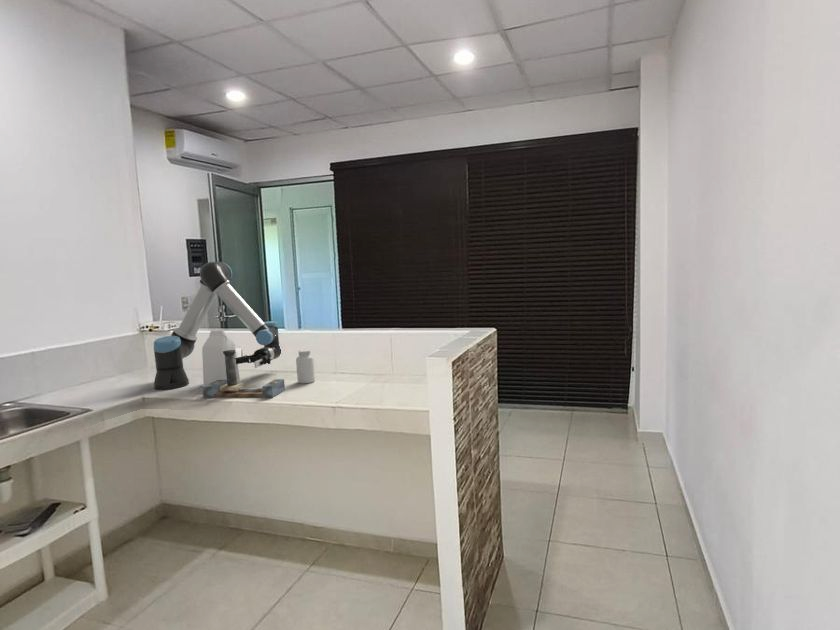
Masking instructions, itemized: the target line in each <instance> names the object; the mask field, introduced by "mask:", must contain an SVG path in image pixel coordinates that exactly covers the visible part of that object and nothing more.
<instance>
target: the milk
mask: <svg viewBox="0 0 840 630" xmlns="http://www.w3.org/2000/svg"><path fill="white" fill-rule="evenodd" d="M226 350H235V353H234V356H235V358H238V357H237V352H236V345H235V343H234V342H233V340H231V338H229V337H228V336H227V335H226V331H224V329H211V330H210V332H209V336H208V337H207V339H206V340H205V342H204V343H203V345H202V349H201V352H202V353H201V355H202V374H203V375H202V376H203V377H202V379H203V386H205V385H207V384H210V383H212V382H214V381H216V380H227V375H226V365H225V354H223V351H226ZM235 367H236V377H237V382H241V379H240V378H241V377H240V370H239V364H236V365H235Z"/></svg>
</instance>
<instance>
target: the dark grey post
mask: <svg viewBox="0 0 840 630" xmlns="http://www.w3.org/2000/svg"><path fill="white" fill-rule="evenodd" d="M235 350H236V349H235ZM235 350H226V351H223V354H225V365H226V375H227V384H225V385H223V386H221V387H220V390H222V391H238V389H239V388H244V387H245V382H244V381H242V382H241V381H238V382H237V377H236V367H235V356H234V353H235Z"/></svg>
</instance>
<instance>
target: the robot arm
mask: <svg viewBox="0 0 840 630" xmlns="http://www.w3.org/2000/svg"><path fill="white" fill-rule="evenodd" d="M199 277H200V280H199V284H200V287H199V289H198V290H197V293H196V294H195V296H194V298H193V300H192V302H191V304H190V306H189V308H188V309H187V311H186V314H185V315H184V317H183V319H182V321H181V323H180V324H179V326H178V327H177V328H174V329H173V331H172V333H171V334H170V335H167V336H166V335H165V336H163V337H158V338H156V339H155V340H154V341H153V352H154V361H155V368H156V370H155V371H156V373H155V376H154V382H153V389H154V390H161V389H162V390H163V389H165V390H173V389H178V388H179V389H180V388H182V387H186V386H188V385H190V381H189V377H188V375H187V373H186V370H185V369H184V361H183V359H185V358H187V357H188V356H190V355H191V354H192V353H193V352H194V349H195V344H196V342H197V340H198V338H197V333H198V331H199V329H200V327H201V325H202V324H203V321H204V319H205V318H206V316H207V315H208V313H209V310H210V309H211V307H212V305H213V303H214V301H215V300H216V298H217V296H218V297H219V298H220V300H222V302H223V303H224V304H225V305H226V306H227V307H228V308H229V309H230V310H231V311H232V312H233V314H234V315H235V316H236V317H237V318H238V319H239V321H241V322H242V324H244V325H245V327H246V328H247V329H248V330H249V331H250V332H251V334H252V335H253V336H254V337H255V340H256V342H257V343H258V344H259V345H260V346H263V347H260V348H259V349H256V350H255V351H254V353H253V354H250V355H248V354H247V355H246V354H245V355H243V356H242V355H241V356H238V357H237V358H235V365H236V364H238V365H239V364H241V365H242V364H245V363H247V364H252V363H254V369H257V368H259V367H261V366H264V365H271V364H272V363H271V361H273V360H276V359H278V358H279V357H280V354H281V349H280V346H279V344H280V337H279V326H278V322H277V321H275V320H274V321H273V320H271V321H263V320H262V318H261V317H260V316H259V315H258V314H257V313H256V312H255V311H254V310H253V308H252V307H251V306H250V305H249V304H248V303H247V302H246V300H245V299H244V298H243V297H242V296H241V295H240V294H239V293H238V292H237V290H236V289H235V288H234V287H233V286H232V285H231V284H230V282H231V280H232V278H233V271H232V268H231V266H230V265H228V264H226V263H225V262H223V261H209V262H206V263H204V264H203V265H202V266H201V268H200V270H199ZM275 335H276V336H275ZM281 355H282V354H281Z"/></svg>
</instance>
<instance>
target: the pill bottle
mask: <svg viewBox="0 0 840 630" xmlns="http://www.w3.org/2000/svg"><path fill="white" fill-rule="evenodd" d="M295 362H296V364H295V365H296V376H297V377H296V378H297V383H298V384H311V383H314V382H315V381H316V379H315V378H316V377H315V366H314V365H315V363H314V362H315V361H314V357H313V355H311V350H310V349H300V350H298V356H297V357H296V360H295Z"/></svg>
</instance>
